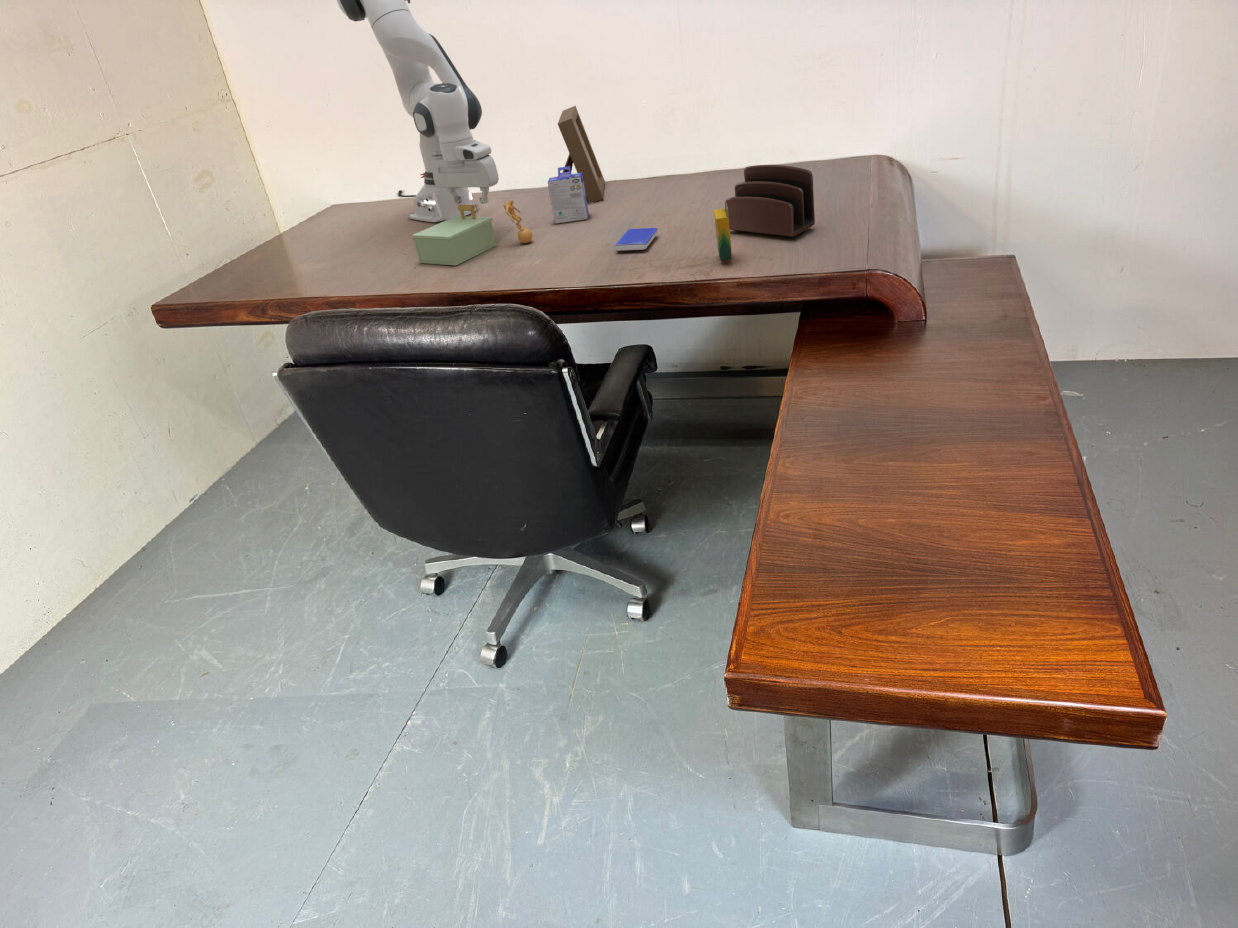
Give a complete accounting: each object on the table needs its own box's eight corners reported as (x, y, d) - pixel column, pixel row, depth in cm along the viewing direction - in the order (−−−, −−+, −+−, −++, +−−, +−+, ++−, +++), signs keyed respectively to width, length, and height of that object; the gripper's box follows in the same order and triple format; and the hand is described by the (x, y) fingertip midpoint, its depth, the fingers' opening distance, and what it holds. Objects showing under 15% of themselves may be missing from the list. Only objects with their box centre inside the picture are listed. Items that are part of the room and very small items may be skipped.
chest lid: (456, 218, 236) (452, 202, 233) (493, 220, 229) (489, 203, 226) (412, 238, 224) (408, 220, 222) (449, 240, 217) (445, 222, 214)
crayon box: (717, 250, 199) (713, 201, 193) (729, 249, 199) (726, 200, 193) (719, 261, 193) (715, 210, 187) (732, 259, 193) (728, 208, 187)
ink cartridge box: (589, 214, 246) (581, 163, 238) (588, 219, 241) (580, 168, 234) (556, 219, 247) (547, 168, 239) (554, 224, 242) (545, 173, 234)
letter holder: (748, 218, 218) (745, 162, 211) (815, 225, 206) (814, 166, 198) (725, 230, 213) (721, 173, 205) (793, 238, 200) (791, 178, 193)
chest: (460, 243, 239) (454, 219, 235) (496, 245, 232) (491, 220, 228) (419, 263, 227) (412, 238, 224) (456, 265, 220) (449, 240, 217)
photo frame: (605, 184, 275) (593, 102, 262) (603, 202, 257) (590, 115, 243) (560, 190, 276) (546, 110, 263) (555, 208, 258) (540, 123, 245)
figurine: (530, 247, 226) (521, 202, 219) (508, 249, 227) (499, 205, 220) (536, 237, 233) (527, 193, 226) (515, 239, 234) (506, 196, 227)
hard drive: (645, 243, 208) (657, 227, 218) (614, 244, 210) (627, 229, 220) (646, 249, 209) (658, 233, 219) (615, 250, 211) (628, 234, 221)
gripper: (421, 155, 225) (435, 206, 232) (480, 152, 214) (492, 206, 222) (437, 149, 229) (450, 200, 236) (495, 146, 219) (507, 199, 226)
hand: (471, 203), depth 229 cm, fingers open, 8 cm apart
